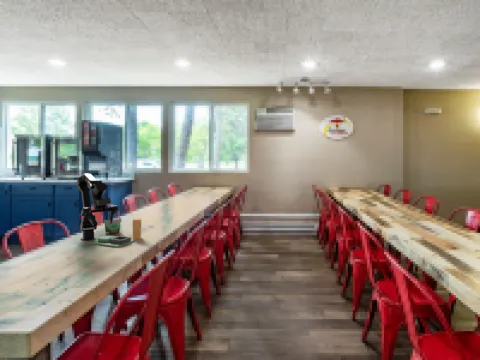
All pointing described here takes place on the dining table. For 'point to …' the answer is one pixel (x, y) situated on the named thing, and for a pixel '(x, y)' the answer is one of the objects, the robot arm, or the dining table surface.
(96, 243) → the green domed base plate
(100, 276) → the dining table surface
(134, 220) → the chute block
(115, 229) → the food container
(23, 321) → the dining table surface
